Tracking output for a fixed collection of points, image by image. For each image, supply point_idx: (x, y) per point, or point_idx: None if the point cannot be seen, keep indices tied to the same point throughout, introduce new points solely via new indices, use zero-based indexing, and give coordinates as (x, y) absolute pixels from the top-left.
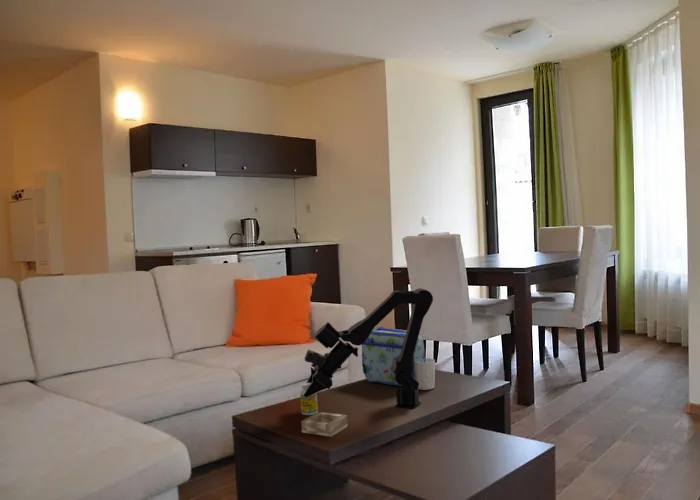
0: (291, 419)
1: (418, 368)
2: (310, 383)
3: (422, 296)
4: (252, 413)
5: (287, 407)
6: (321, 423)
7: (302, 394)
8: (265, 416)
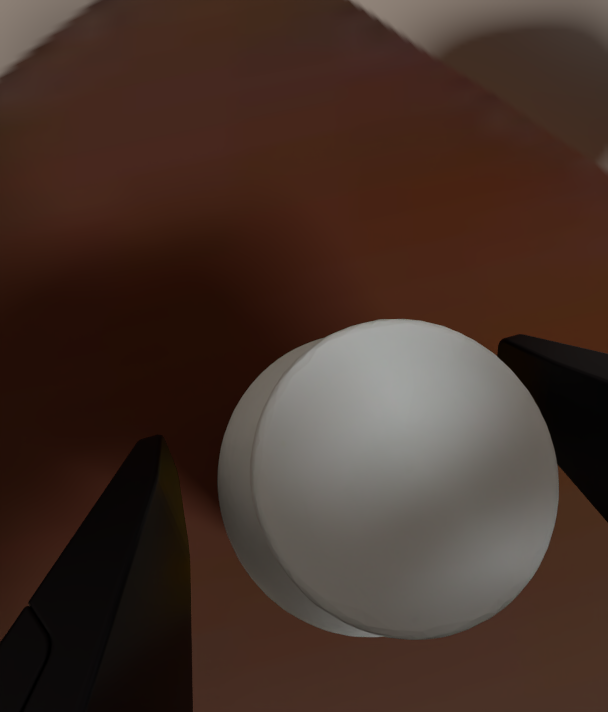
0: (116, 344)
1: None
2: (472, 519)
3: None
4: (291, 2)
5: (475, 226)
6: None
7: (248, 391)
8: (213, 107)
